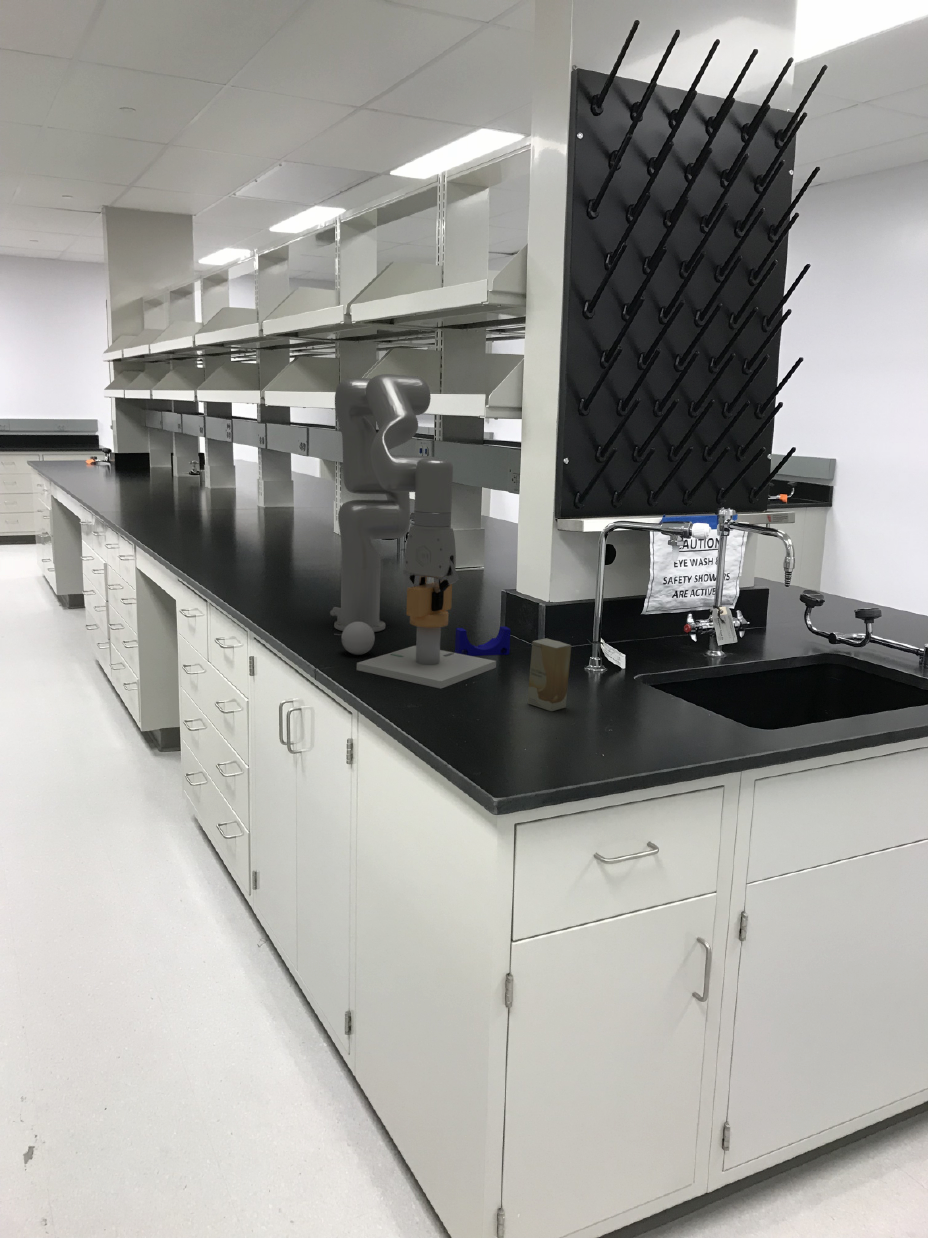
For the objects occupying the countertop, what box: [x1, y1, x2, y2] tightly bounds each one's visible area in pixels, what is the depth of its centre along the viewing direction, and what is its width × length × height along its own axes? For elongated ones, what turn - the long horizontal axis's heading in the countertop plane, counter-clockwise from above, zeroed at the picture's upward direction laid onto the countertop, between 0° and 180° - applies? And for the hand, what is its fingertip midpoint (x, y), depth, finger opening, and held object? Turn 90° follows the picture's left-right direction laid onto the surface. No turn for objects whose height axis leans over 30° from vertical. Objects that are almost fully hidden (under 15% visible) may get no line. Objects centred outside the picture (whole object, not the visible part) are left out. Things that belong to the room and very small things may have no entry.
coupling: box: [406, 582, 453, 628], centre depth 194 cm, size 12×8×8 cm, turn 147°
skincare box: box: [527, 637, 572, 712], centre depth 173 cm, size 6×4×12 cm
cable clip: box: [454, 625, 511, 657], centre depth 212 cm, size 12×4×6 cm, turn 108°
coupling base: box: [356, 626, 497, 689], centre depth 196 cm, size 21×21×10 cm
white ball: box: [335, 622, 376, 656], centre depth 206 cm, size 10×7×7 cm
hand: (429, 608), depth 194 cm, fingers closed on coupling, 3 cm apart
